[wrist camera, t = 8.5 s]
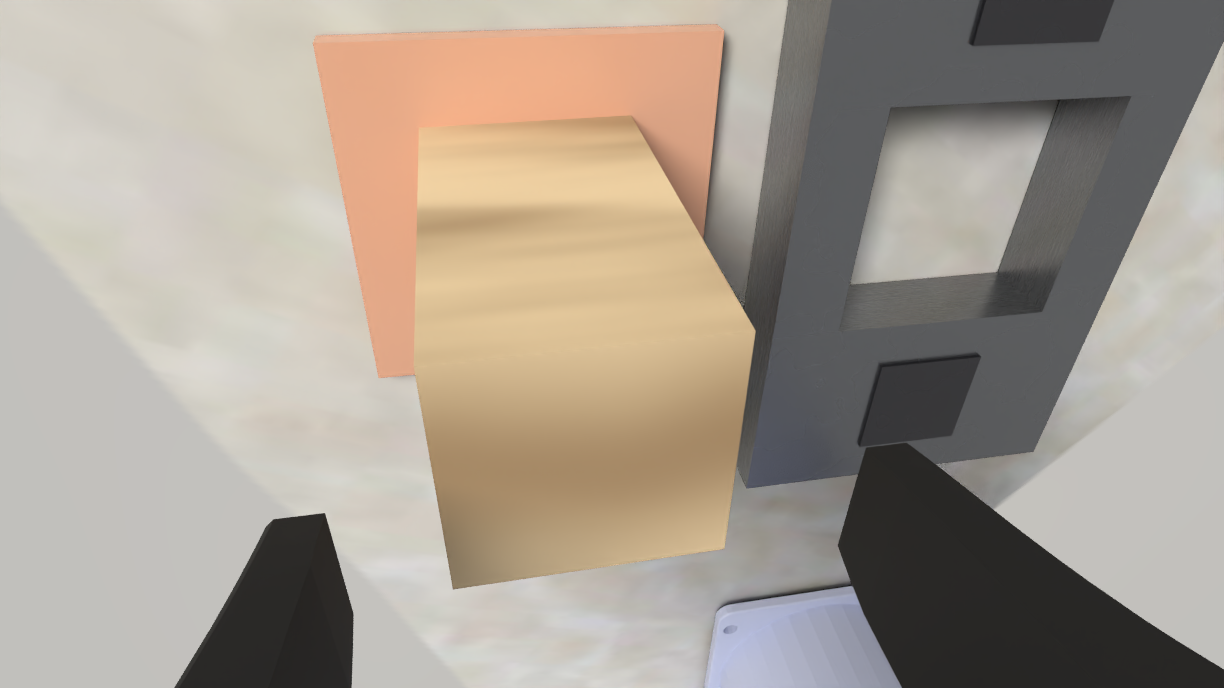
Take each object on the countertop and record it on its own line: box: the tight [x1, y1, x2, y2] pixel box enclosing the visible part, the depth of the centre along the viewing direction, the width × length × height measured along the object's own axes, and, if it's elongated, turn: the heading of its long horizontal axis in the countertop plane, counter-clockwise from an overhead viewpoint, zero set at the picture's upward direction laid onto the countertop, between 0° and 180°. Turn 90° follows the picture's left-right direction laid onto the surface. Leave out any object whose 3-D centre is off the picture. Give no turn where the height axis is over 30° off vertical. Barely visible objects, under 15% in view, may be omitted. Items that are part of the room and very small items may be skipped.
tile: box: [313, 24, 724, 378], centre depth 18 cm, size 8×8×1 cm
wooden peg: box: [414, 115, 756, 589], centre depth 14 cm, size 4×4×8 cm
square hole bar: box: [736, 0, 1224, 488], centre depth 19 cm, size 16×9×2 cm, turn 179°
